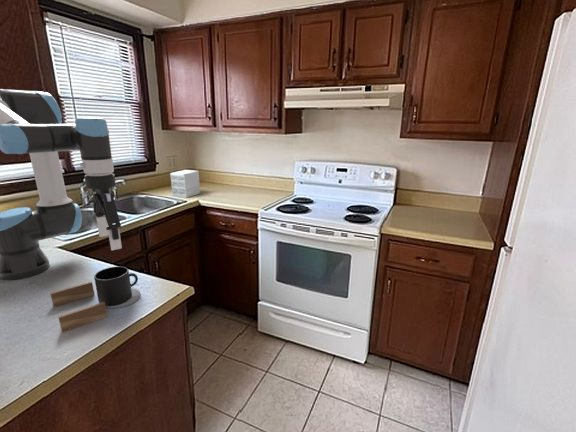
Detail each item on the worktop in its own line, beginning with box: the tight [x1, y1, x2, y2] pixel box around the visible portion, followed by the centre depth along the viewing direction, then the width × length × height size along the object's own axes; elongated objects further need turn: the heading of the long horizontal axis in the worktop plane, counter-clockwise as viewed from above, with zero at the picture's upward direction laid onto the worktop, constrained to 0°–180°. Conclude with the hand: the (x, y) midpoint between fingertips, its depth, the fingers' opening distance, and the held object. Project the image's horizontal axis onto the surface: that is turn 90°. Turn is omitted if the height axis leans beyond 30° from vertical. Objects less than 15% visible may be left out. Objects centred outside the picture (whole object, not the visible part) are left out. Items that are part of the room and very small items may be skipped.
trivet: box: [106, 287, 141, 309], centre depth 101 cm, size 11×11×1 cm
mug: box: [93, 266, 139, 306], centre depth 100 cm, size 9×12×9 cm
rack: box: [50, 281, 108, 333], centre depth 94 cm, size 17×11×4 cm, turn 42°
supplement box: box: [169, 169, 201, 199], centre depth 239 cm, size 17×13×18 cm
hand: (110, 242), depth 97 cm, fingers open, 13 cm apart
